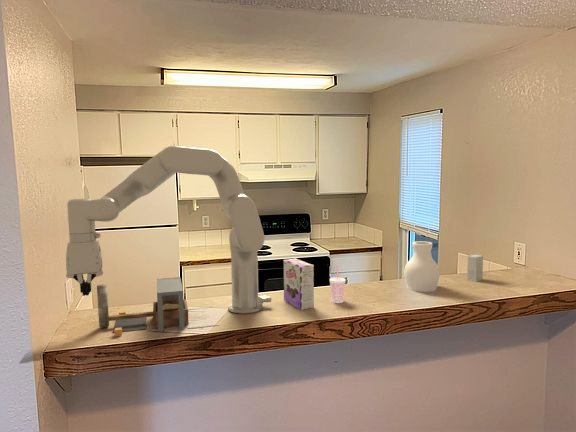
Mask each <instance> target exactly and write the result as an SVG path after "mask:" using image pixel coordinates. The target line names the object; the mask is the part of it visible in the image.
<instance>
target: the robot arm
mask: <svg viewBox="0 0 576 432" xmlns="http://www.w3.org/2000/svg"><path fill="white" fill-rule="evenodd" d="M176 173H178V174H187V175H199V176H208V177H209V178H211V180H212V181H213V183H214V185H215V187H216V188H215V189H216V191H217V193H218V197H219V200H220V203H221V206H222V211H223V214H224V215H225V217H226V218H228V219H229V220H230V221H231V224H232V227H231V229H230V231H229V237H228V238H229V239H228V240H229V248H230V249H229V250H230V263H231V300H232V301H231V302H230V303H229V304H228V305H227V309H228V311H229V312H231V313H235V314H252V313H257V312H259V311H261V310H262V309H263V308H264V306H263V304H264V303H271V302H272V297H271V296H267V295H262V296H261V295H259V262H258V261H259V260H258V259H259V258H258V257H259V256H258V251H260V250H261V249H262V247H263V246H264V243H265V234H264V229H263V226H262V223H261V218H260V216H259V212H258V208H257V206H256V203H255V202H254V201H253V199H252V198H250V197H249V196H248V195H246V194H245V193H244V189H243V186H242V184H241V181H240V178H239V175H238V173H237V170H236V169H235V167H234V166H233V165H232V163H230V161H229V160H227V159H226V158H225V157H223V156H222V155H221V154H220V153H219V152H218V151H216V150H215V149H209V148H197V147H189V146H187V147H186V146H178V145H170V146H169V145H168V146H167V147H165V148H163V149H162V150H161V151H159V152H158V153H157V154H155V155H154V156H152V157H151V158H150V159H148V160H147V161H146V162H145V163H143V164H142V165H140V167H138V168H137V169H135V170H134V171H133V172H132V173H130V174H129V175H128V176H127V177H126V178H125V179H124V180H123V181H121V182H120V183H119V184H117V185H116V186H115V187H114V188H112V189H111V190H110V191H109V192H107V193H106V194H104V195H103V196H102V197H101V198H99V199H98V198H97V199H90V198H73V199H69V200H68V201H67V203H66V206H67V221H68V235H69V237H68V238H69V242H67V244H66V245H67V246H66V251H65V253H66V255H65V268H66V269H65V271H66V275H65V277H66V278H67V279H74V280H75V281H77V283H78V284H79V287H80V289H79V290H80V293H82V296H83V297H85V296H89V295H90V293H91V292H92V281H93V280H94V279H95V278H97V277H100V276H103V275H104V271H103V257H102V251H101V245H100V241H99V240H97V239H99V238H101V233H97V232H96V222H105V223H107V222H113V221H114V220H116V219H117V218H118V216H119V214H120V213H121V212H122V211H123V210H125V209H126V208H127V207H129V206H130V205H131V204H133V203H134V202H136V201H137V200H138V199H140V198H143V197H144V196H147V195H148V194H151V193H152V192H154V191H155V190H156V189H157V188H159V187H160V186H161V185H162V184H164V183H165V182H166V181H168V179H170V178H171V177H172V176H174V175H175V174H176ZM85 274H87V276H86V280H85V278H84V275H85Z"/></svg>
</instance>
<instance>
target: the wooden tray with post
mask: <svg viewBox="0 0 576 432" xmlns="http://www.w3.org/2000/svg"><path fill="white" fill-rule="evenodd" d="M96 293H97V310H98V312H97V314H98V327H99V328H100V329H101V328H108V327H109V326H110V321H112V322H113V321H116V320H123V319H133V318H143V317H147V318H151V317H152V318H153V319H152V320H153V321H152V322H153V328H154V329H157V328H158V329H159V327H158V312H157V311H158V304H157V301H153V303H152V306H153V307H152V311H146V312H134V313H126V314H122V315H119V314H113V315H110V314H109V298H108V285H107V284H106V283H104V284H103V283H102V284H97V285H96ZM183 300H184V326H186V325H189V323H190V322H189V310H188V309H189V308H188V304H187V303H188V302H187V299H184V298H183ZM164 304H179V300H172V301H162V305H164ZM175 326H176V327H177V326H179V310H171V311H163V328H166V327H175Z"/></svg>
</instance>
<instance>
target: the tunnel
mask: <svg viewBox="0 0 576 432" xmlns="http://www.w3.org/2000/svg"><path fill="white" fill-rule="evenodd" d="M156 297H157V298H156V302H157V304H158V332H164V327H163V305H162V301H172V300H179V325H178V326H179V330H185V325H184V300H183V299H184V289H183V283H182V278H181V277H180V276H179V277H178V276H177V277H168V278H167V277H165V278H157V279H156ZM201 308H202V309H210V308H213V306H204V307H196V308H195V307H193V308H188V311H191V309H193V310H201ZM122 314H127V311H126V310H119V311H118V315H122ZM147 318H148V317H143V318H133V319H123V320H114V321H115V322H114V325H113V329H112V332H111V333H112V334H114V337H122V335H123V332H125V333H126V332H132V331H141V330H146V329H147ZM217 326H220V324H219V323H215V324H206V325H204V324H203V325H196V326H195V325H194V326H188V327H187V330H191V329H199V328H208V327H217Z"/></svg>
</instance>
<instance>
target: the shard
mask: <svg viewBox="0 0 576 432" xmlns="http://www.w3.org/2000/svg"><path fill="white" fill-rule="evenodd" d="M171 310H179V304H164V305H163V311H171ZM157 312H158V311H157Z"/></svg>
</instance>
